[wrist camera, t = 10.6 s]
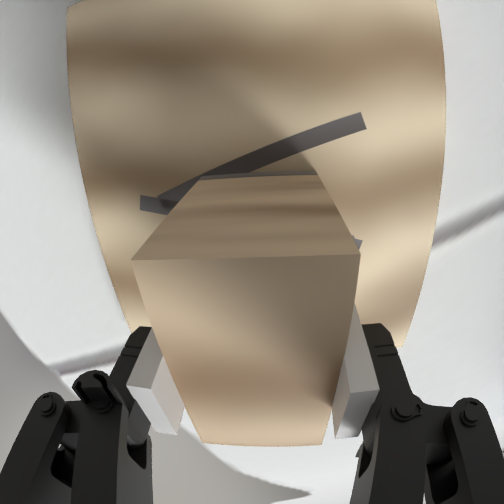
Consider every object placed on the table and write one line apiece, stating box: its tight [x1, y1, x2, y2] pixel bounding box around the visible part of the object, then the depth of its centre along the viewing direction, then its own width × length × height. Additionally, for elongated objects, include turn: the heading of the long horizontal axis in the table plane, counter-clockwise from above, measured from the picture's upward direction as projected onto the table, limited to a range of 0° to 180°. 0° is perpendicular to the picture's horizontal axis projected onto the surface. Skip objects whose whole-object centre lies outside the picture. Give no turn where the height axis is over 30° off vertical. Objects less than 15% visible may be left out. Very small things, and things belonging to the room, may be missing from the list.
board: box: [67, 0, 446, 348], centre depth 14 cm, size 22×18×2 cm
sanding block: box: [130, 171, 361, 447], centre depth 12 cm, size 9×5×8 cm, turn 4°
